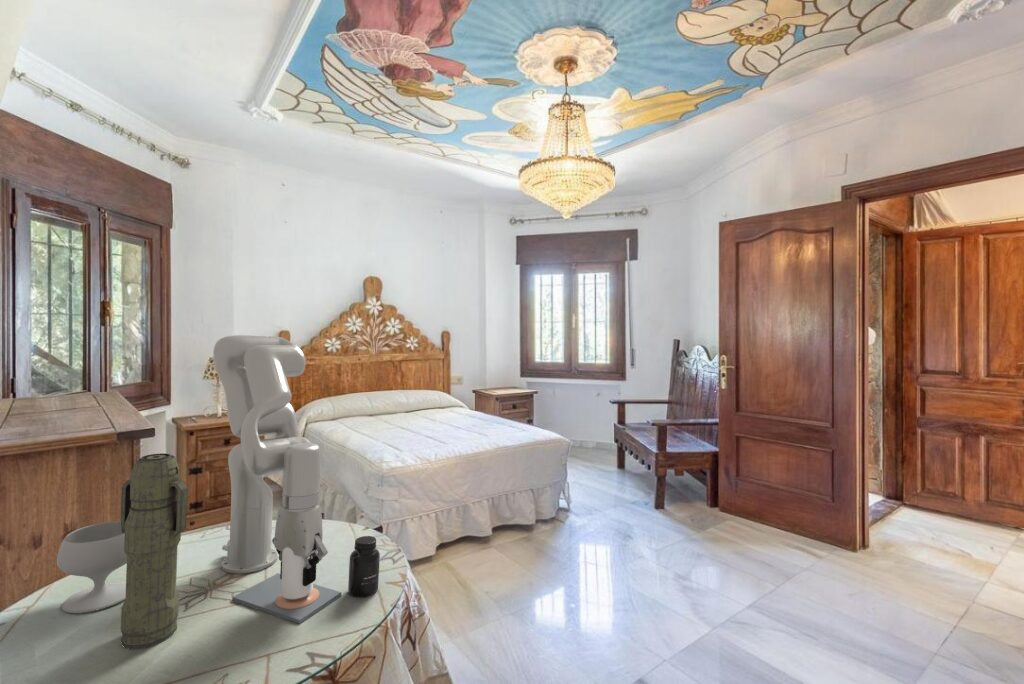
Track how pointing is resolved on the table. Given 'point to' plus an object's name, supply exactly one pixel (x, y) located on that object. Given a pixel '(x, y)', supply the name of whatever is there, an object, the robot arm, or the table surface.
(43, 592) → the table surface
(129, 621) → the thermos
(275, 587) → the card
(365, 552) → the supplement bottle
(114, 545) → the chalice
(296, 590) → the can
